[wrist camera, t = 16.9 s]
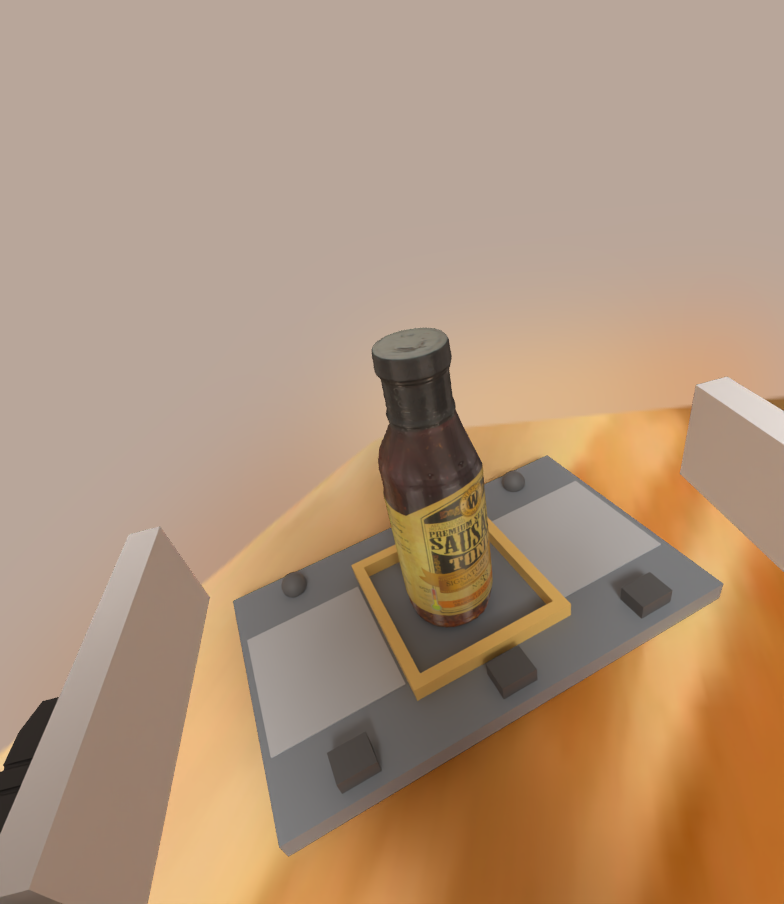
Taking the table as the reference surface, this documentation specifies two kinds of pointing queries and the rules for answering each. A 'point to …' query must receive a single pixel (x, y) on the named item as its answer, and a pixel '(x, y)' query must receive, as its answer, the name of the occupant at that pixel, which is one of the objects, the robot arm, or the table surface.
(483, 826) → the table surface
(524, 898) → the table surface
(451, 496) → the sauce bottle
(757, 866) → the table surface
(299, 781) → the grey fixture plate
